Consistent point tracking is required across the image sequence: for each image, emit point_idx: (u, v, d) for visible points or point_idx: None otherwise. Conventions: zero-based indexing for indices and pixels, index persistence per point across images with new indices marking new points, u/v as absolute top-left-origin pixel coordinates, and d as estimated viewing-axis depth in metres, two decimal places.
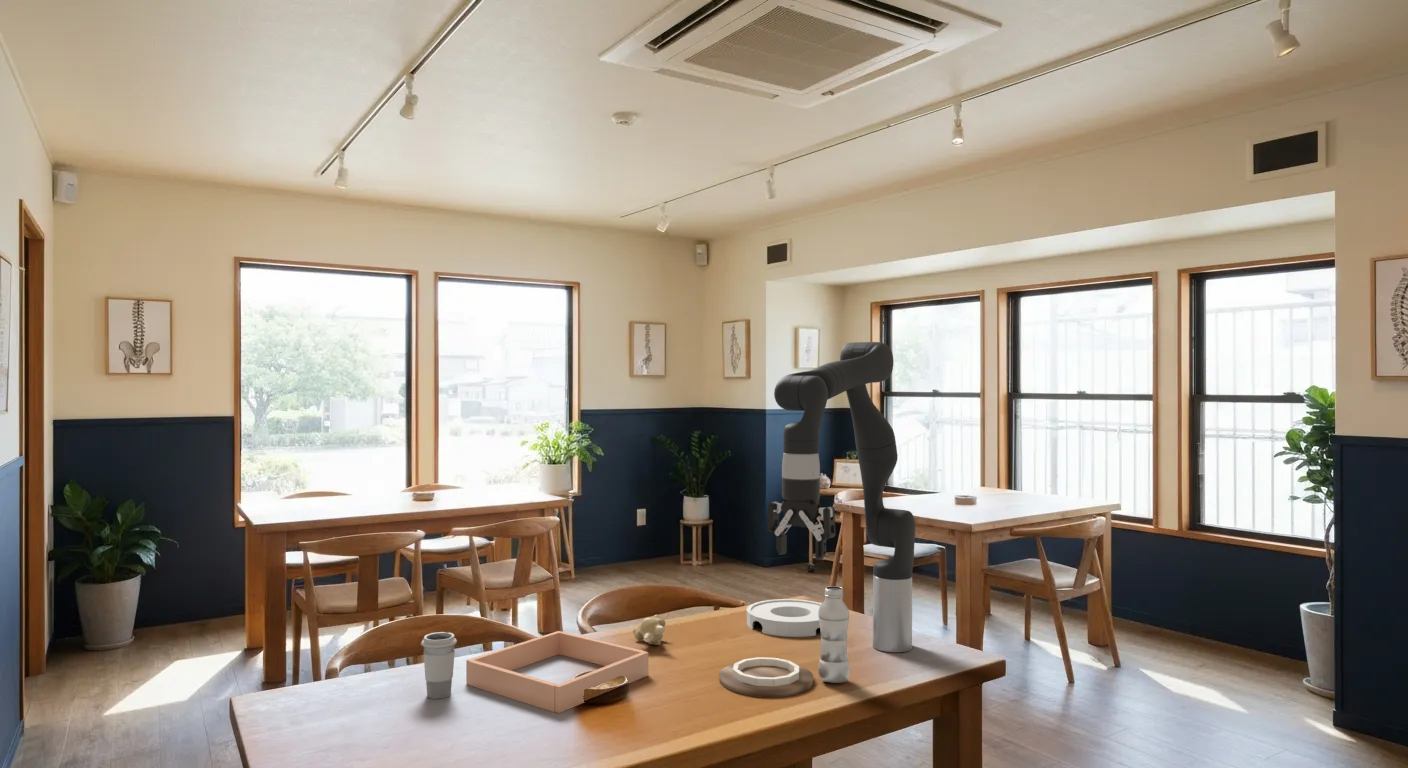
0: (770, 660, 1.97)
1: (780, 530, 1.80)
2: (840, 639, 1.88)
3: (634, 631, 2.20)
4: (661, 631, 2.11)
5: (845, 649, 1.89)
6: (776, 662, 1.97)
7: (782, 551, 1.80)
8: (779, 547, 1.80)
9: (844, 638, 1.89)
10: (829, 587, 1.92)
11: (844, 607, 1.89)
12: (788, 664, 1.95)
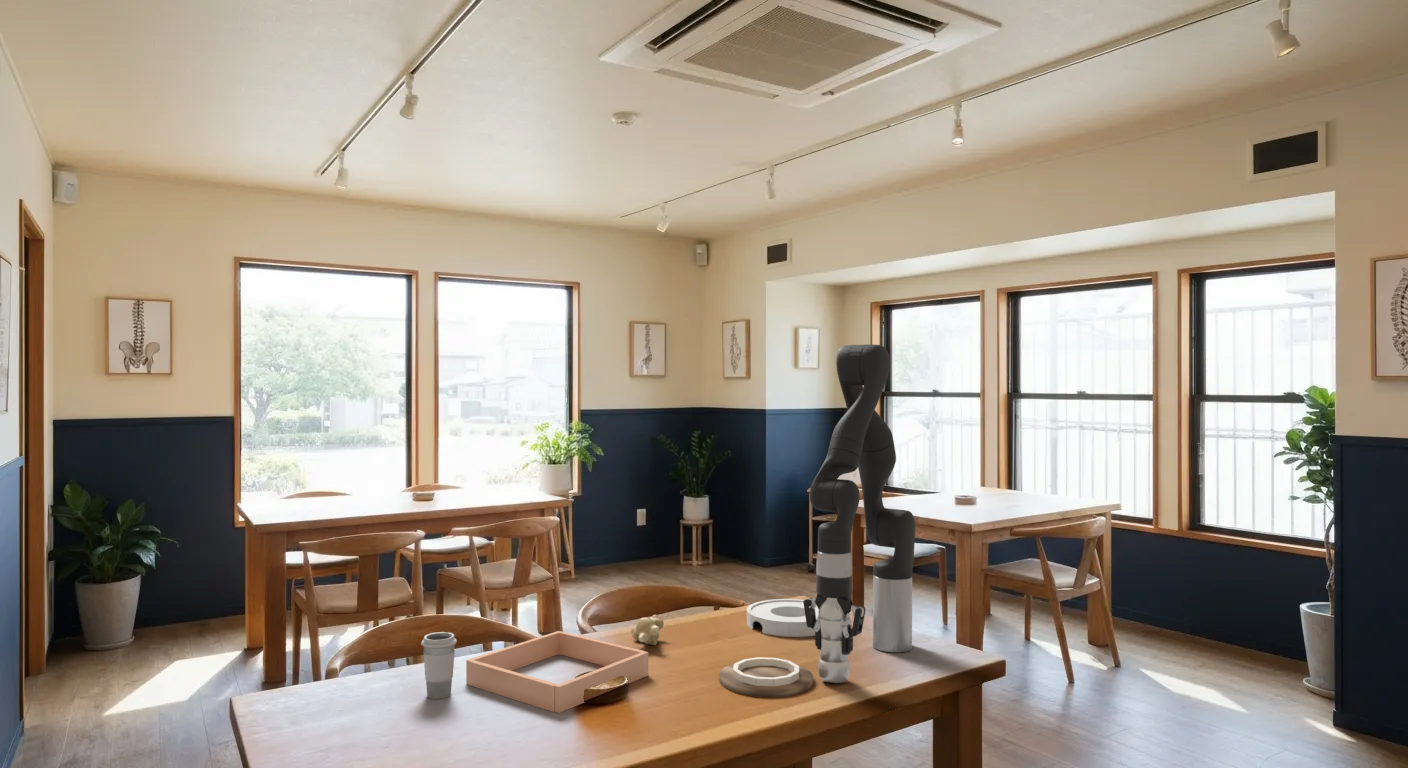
0: (770, 660, 1.97)
1: (818, 626, 1.91)
2: (840, 639, 1.88)
3: (632, 631, 2.20)
4: (656, 631, 2.11)
5: None
6: (776, 662, 1.97)
7: None
8: (818, 642, 1.92)
9: None
10: None
11: None
12: (788, 664, 1.95)
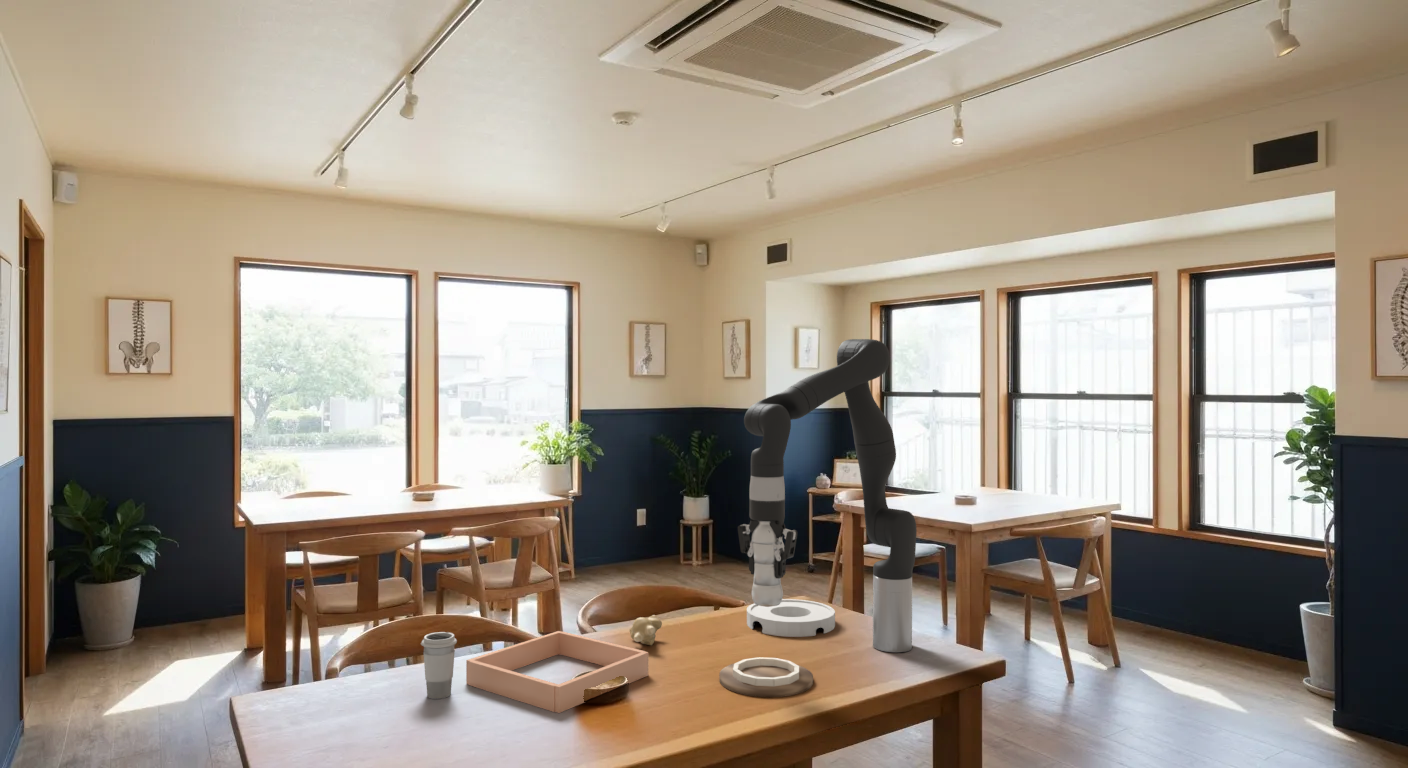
0: (770, 660, 1.97)
1: (752, 551, 1.92)
2: (772, 563, 1.89)
3: (630, 630, 2.21)
4: (651, 631, 2.11)
5: None
6: (776, 662, 1.97)
7: None
8: (751, 567, 1.92)
9: None
10: None
11: None
12: (788, 664, 1.95)
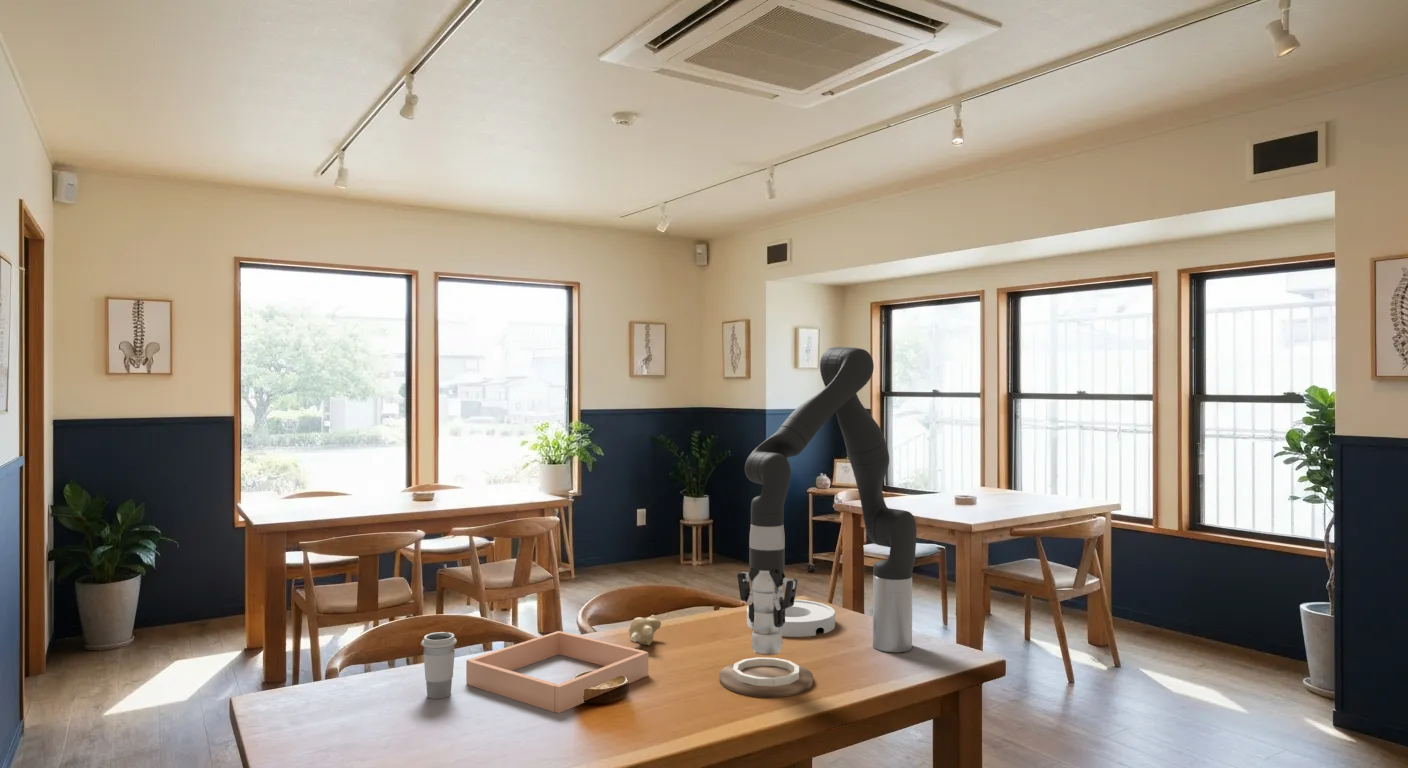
0: (770, 660, 1.97)
1: (751, 599, 1.92)
2: (772, 612, 1.89)
3: (630, 630, 2.21)
4: (648, 631, 2.11)
5: None
6: (776, 662, 1.97)
7: None
8: (751, 615, 1.92)
9: None
10: None
11: None
12: (788, 664, 1.95)
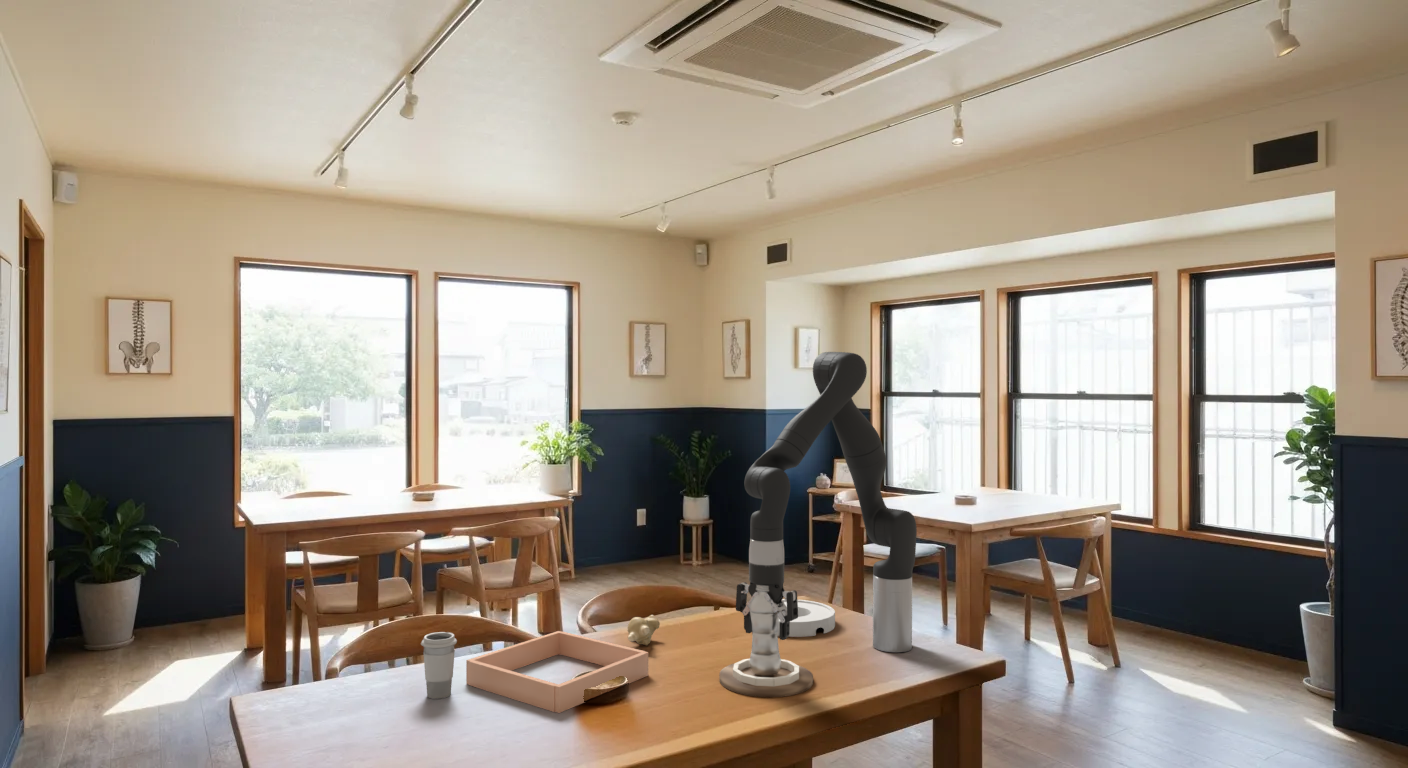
0: None
1: (747, 610, 1.92)
2: (770, 632, 1.89)
3: None
4: (645, 631, 2.11)
5: (776, 642, 1.90)
6: None
7: (749, 630, 1.93)
8: (746, 626, 1.93)
9: (775, 631, 1.89)
10: None
11: None
12: (788, 664, 1.95)
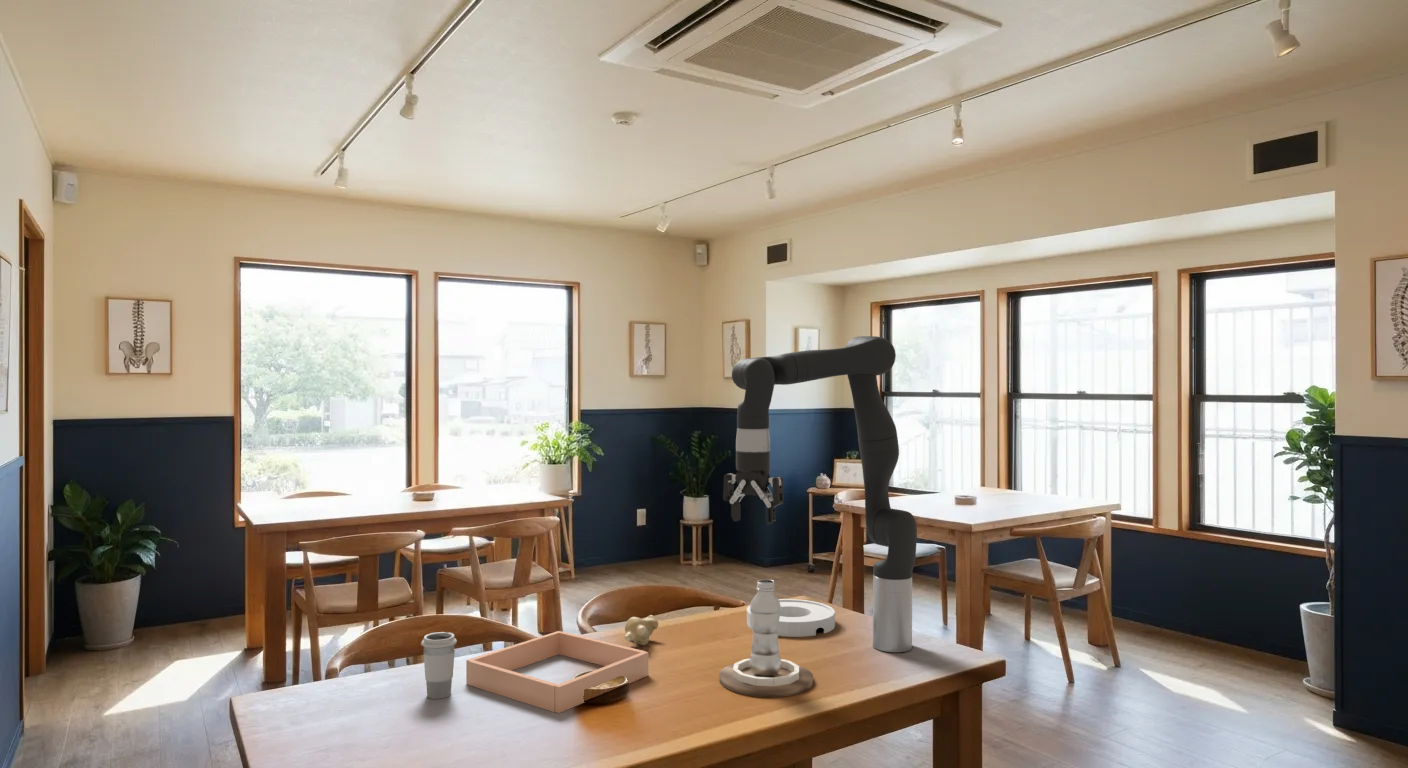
0: None
1: (734, 499, 1.98)
2: (771, 632, 1.89)
3: None
4: (641, 631, 2.11)
5: (776, 642, 1.90)
6: None
7: (736, 518, 1.99)
8: (733, 514, 1.98)
9: (775, 631, 1.89)
10: (761, 581, 1.92)
11: (775, 600, 1.90)
12: (788, 664, 1.95)
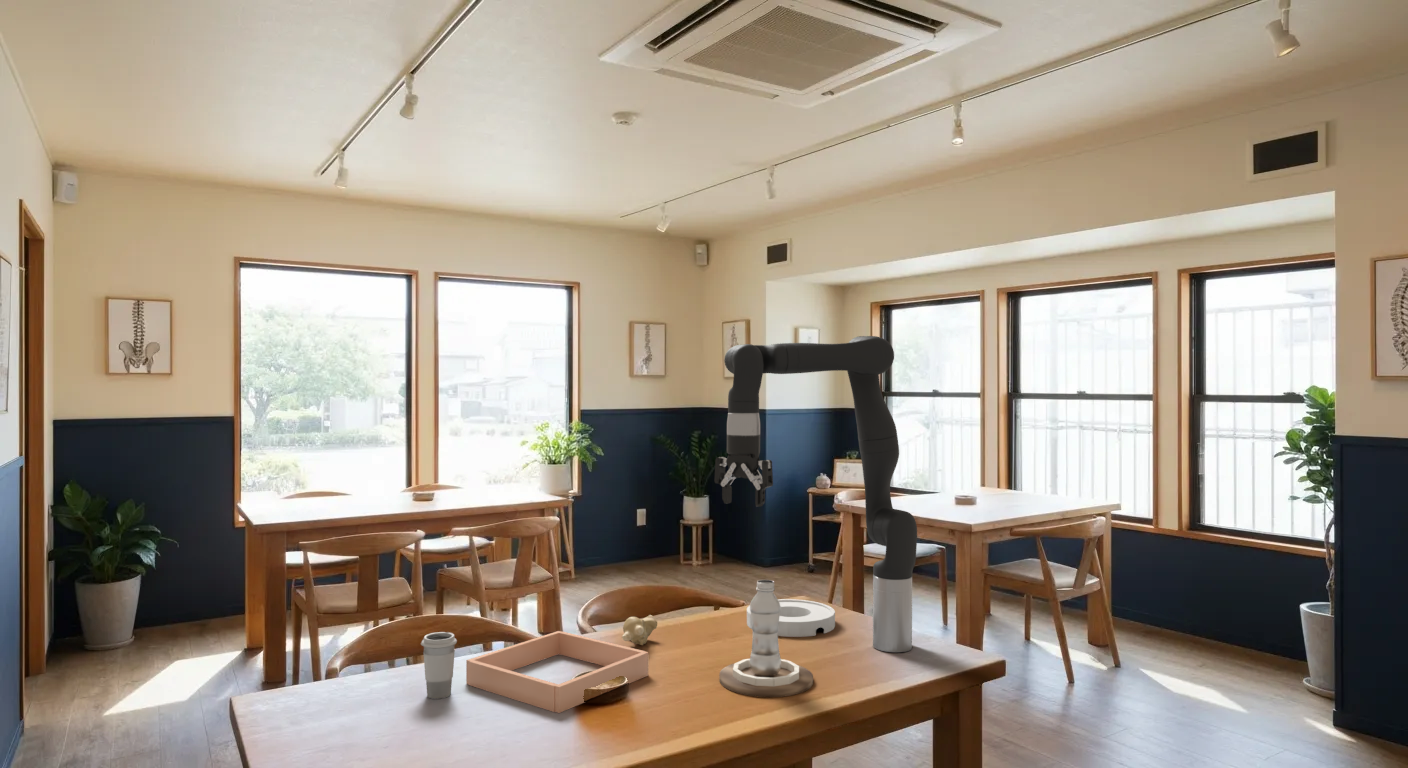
0: None
1: (725, 481, 2.03)
2: (771, 633, 1.89)
3: None
4: (639, 631, 2.11)
5: (776, 642, 1.90)
6: None
7: (727, 500, 2.03)
8: (724, 496, 2.03)
9: (775, 631, 1.89)
10: (761, 581, 1.92)
11: (775, 600, 1.89)
12: (788, 664, 1.95)
